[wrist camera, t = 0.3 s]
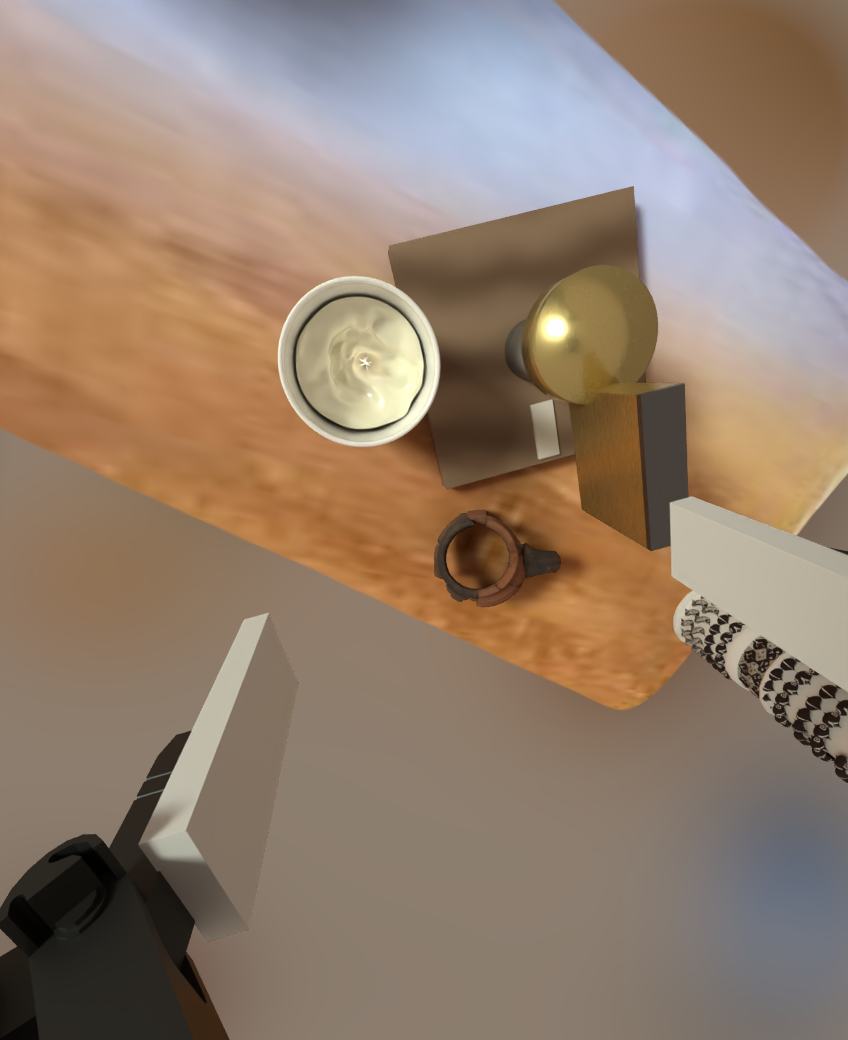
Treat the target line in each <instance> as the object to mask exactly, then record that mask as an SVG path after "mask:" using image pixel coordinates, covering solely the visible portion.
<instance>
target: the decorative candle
mask: <svg viewBox="0 0 848 1040" xmlns="http://www.w3.org/2000/svg"><path fill="white" fill-rule="evenodd" d="M673 630H674V632H675V633H676V635H677V637H678V638H679V640H681V641H682V642H684V643H685V644H686V645H690V646H692V648H691V650H692V651H695V653H701V654H702V655H701V658H702V659H707V662H708V663H710V664H712V666H713V667H714V668H715V669H716V670H718V671H719V672H720V673H722V674H723V675H724V676H725V678H727V679H730V680H731V679H732V680H734V681H735V682H736V683H737V684H738V685H740V686H741V687H743V688H744V689H746V690H748V691H750V692H751V693H752V694H754V695H755V696H756V697H757V698H759V700H760V702H761V704H762V705H763V707H764V709H765V710H766V711H767V712H768V713H770V714H772V715H774V716H775V720H776V721H777V722H778V723H780V724H782V725H783V726H785V727H793V729H794V736H795V738H796V739H797V740H799V741H800V742H801V743H802V744H803V745H810V746H811V747H812V753H813V754H814V755H815V756H816V757H818V758H820V759H822V760H823V761H826V762H828V761H834V765H835V767H836V769H835V773H836V775H837V776H838V777H840V778H841V779H842V780H843V781H845V782H847V783H848V772H847V771H846V769H845V768H844V767H843V766H846V767H847V768H848V692H846V691H845V690H843V689H842V688H840V687H839V686H837V685H836V684H834V683H833V682H831V681H830V680H828V679H827V678H825V677H824V676H822V675H821V674H819V673H817V672H816V671H814V670H813V669H811V668H810V667H808V666H807V665H805V664H804V663H802V662H801V661H799V660H798V659H796V658H795V657H793V656H792V655H790V654H789V653H787V652H786V651H784V650H783V649H781V648H780V647H778V646H777V645H775V644H773V643H772V642H770V641H769V640H767V639H766V638H764V637H763V636H761V635H760V634H758V633H757V632H755V631H754V630H752V629H751V628H749V627H748V626H746V625H745V624H743V623H742V622H740V621H739V620H737V619H736V618H734V617H732V616H731V615H729V614H728V613H726V612H725V611H723V610H722V609H720V608H719V607H717V606H716V605H714V604H713V603H711V602H710V601H708V600H707V599H705V598H704V597H702V596H701V595H699V594H698V593H696V592H695V591H693V590H692V591H691V592H690V593H688V594H687V595H686V596H685V597H684V598H683V599H682V601H681V602H680V603H679V605H678V606H677V608H676V611H675V614H674V617H673ZM805 734H806V735H807V736H808V737H809V738H807V737H806V736H805ZM823 749H824V750H826V751H827V752H828V753H827V752H825V751H823Z"/></svg>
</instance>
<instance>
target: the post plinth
mask: <svg viewBox="0 0 848 1040" xmlns="http://www.w3.org/2000/svg"><path fill="white" fill-rule="evenodd" d="M388 255H389V259H390V263H391V268H392V272H393V276H394V280H395V285H396V288H398V289H400V290H401V291H402V292H404V293H405V294H406V295H408V296H409V297H410V298H411V299H412V300H413V301H414V302H415V303H416V304H417V305H418V306H419V307H420V309H421V310H422V311H423V313H424V314H425V316H426V317H427V319H428V321H429V322H430V324H431V326H432V328H433V331H434V333H435V336H436V339H437V343H438V347H439V352H440V363H441V368H440V379H439V385H438V389H437V392H436V395H435V398H434V400H433V403H432V405H431V406H430V408H429V410H428V412H427V413H426V416H427V420H428V425H429V429H430V433H431V437H432V441H433V446H434V450H435V454H436V458H437V463H438V467H439V471H440V475H441V480H442V484H443V486H444V487H445V488H446V489H450V488H453V487H457V486H461V485H464V484H468V483H472V482H475V481H479V480H483V479H486V478H490V477H493V476H497V475H501V474H504V473H508V472H512V471H515V470H519V469H523V468H526V467H530V466H533V465H537V464H541V463H544V462H548V461H552V460H555V459H559V458H563V457H566V456H570V455H574V454H575V450H574V441H573V433H572V425H571V417H570V409H569V403H567V402H561V401H557V400H555V399H552V398H550V397H548V396H547V395H545V394H544V393H542V392H541V391H540V390H539V389H538V388H537V387H536V386H535V385H534V383H533V382H532V381H531V379H530V377H529V375H528V373H527V371H526V369H525V366H524V362H523V357H522V348H521V347H522V334H523V329H524V325H525V322H526V319H527V316H528V314H529V312H530V310H531V308H532V306H533V305H534V303H535V302H536V301H537V299H538V298H539V297H540V296H541V295H542V293H543V292H545V291H546V290H547V289H548V288H549V287H550V286H552V285H553V284H555V283H556V282H558V281H560V280H562V279H564V278H566V277H568V276H570V275H572V274H574V273H576V272H578V271H580V270H582V269H585V268H588V267H591V266H597V265H611V266H617V267H620V268H623V269H625V270H627V271H629V272H631V273H632V274H634V275H635V276H637V277H638V278H639V264H638V248H637V232H636V216H635V200H634V186H632V187H628V188H624V189H620V190H616V191H612V192H608V193H604V194H600V195H595V196H591V197H587V198H583V199H579V200H575V201H571V202H567V203H563V204H559V205H554V206H550V207H546V208H542V209H538V210H534V211H530V212H526V213H522V214H518V215H514V216H509V217H505V218H501V219H497V220H493V221H489V222H485V223H481V224H477V225H473V226H468V227H464V228H460V229H456V230H452V231H448V232H444V233H440V234H436V235H432V236H427V237H423V238H419V239H415V240H411V241H407V242H403V243H399V244H395V245H391V246H389V251H388ZM636 383H646V377H645V372H644V373H643V375H642V376H641V377H640V379H639V380H638V381H637V382H636Z"/></svg>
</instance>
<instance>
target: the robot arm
mask: <svg viewBox="0 0 848 1040" xmlns="http://www.w3.org/2000/svg"><path fill="white" fill-rule="evenodd" d="M670 531H671V567H672V577H673V578H675V579H676V580H678V581H679V582H681V583H682V584H684V585H685V586H687V587H688V588H690V589H692V590H693V591H695V592H696V593H698V594H699V595H701V596H702V597H704V598H705V599H707V600H708V601H710V602H711V603H713V604H714V605H716V606H717V607H719V608H720V609H722V610H723V611H725V612H726V613H728V614H729V615H731V616H732V617H734V618H736V619H737V620H739V621H740V622H742V623H743V624H745V625H746V626H748V627H749V628H751V629H752V630H754V631H755V632H757V633H758V634H760V635H761V636H763V637H764V638H766V639H767V640H769V641H770V642H772V643H773V644H775V645H777V646H778V647H780V648H781V649H783V650H784V651H786V652H787V653H789V654H790V655H792V656H793V657H795V658H796V659H798V660H799V661H801V662H802V663H804V664H805V665H807V666H808V667H810V668H811V669H813V670H814V671H816V672H817V673H819V674H821V675H822V676H824V677H825V678H827V679H828V680H830V681H831V682H833V683H834V684H836V685H837V686H839V687H840V688H842V689H843V690H845V691H846V692H848V551H843V550H838V549H833V548H828V547H825V546H822V545H819V544H816V543H813V542H811V541H809V540H806V539H804V538H801V537H798V536H796V535H793V534H790V533H788V532H785V531H782V530H780V529H777V528H774V527H772V526H769V525H766V524H764V523H761V522H758V521H756V520H753V519H750V518H748V517H745V516H743V515H740V514H737V513H735V512H732V511H729V510H727V509H724V508H721V507H719V506H716V505H713V504H711V503H708V502H705V501H703V500H700V499H697V498H695V497H688V498H684V499H681V500H677V501H673V502H670ZM297 688H298V681H297V678H296V676H295V673H294V671H293V669H292V666H291V664H290V662H289V659H288V657H287V655H286V652H285V650H284V648H283V645H282V643H281V640H280V638H279V636H278V633H277V631H276V628H275V626H274V624H273V622H272V619H271V617H270V614H269V613H266V614H263V615H259V616H256V617H252V618H248V619H245V620H244V621H243V623H242V625H241V628H240V630H239V632H238V634H237V636H236V638H235V641H234V642H233V644H232V647H231V649H230V651H229V653H228V655H227V657H226V660H225V662H224V664H223V666H222V668H221V670H220V672H219V674H218V676H217V678H216V681H215V683H214V685H213V687H212V689H211V691H210V694H209V696H208V698H207V700H206V702H205V704H204V706H203V708H202V710H201V713H200V715H199V717H198V719H197V721H196V723H195V725H194V727H193V729H192V731H188V732H185V733H182V734H178V735H176V736H175V737H174V738H173V740H171V742H170V743H169V744H168V745H167V746H166V747H165V748H164V750H163V751H162V752H161V753H160V754H159V755H158V757H157V759H156V760H155V763H154V764H153V766H152V768H151V770H150V772H149V774H148V776H147V781H146V782H144V783H143V785H142V787H141V789H140V791H139V793H138V795H137V800H135V801H134V802H133V804H132V806H131V808H130V810H129V811H128V813H127V815H126V817H125V819H124V821H123V823H122V825H121V827H120V829H119V830H118V832H117V834H116V836H115V838H114V840H113V842H112V844H111V846H110V847H109V848H108V847H107V846H106V844H105V843H104V841H103V840H102V839H101V838H99V837H98V836H97V835H96V834H90V835H89V834H88V835H85V834H83V835H81V836H79V837H76V838H73V839H71V840H68V841H66V842H64V843H63V844H61V845H59V846H58V847H57V848H55V849H53V850H52V851H50V852H48V853H47V854H46V855H45V856H44V857H43V858H41V859H40V860H39V861H38V862H37V863H36V864H34V865H33V866H32V867H31V868H30V869H29V870H28V871H27V872H26V873H25V874H24V875H23V876H22V878H21V879H20V880H19V881H18V882H17V884H16V885H15V886H14V887H13V888H12V889H11V891H10V892H9V894H8V896H7V898H6V899H5V901H4V903H3V904H2V906H1V908H0V929H1V930H2V931H3V932H4V933H5V934H6V935H7V936H8V937H9V938H10V939H11V940H12V941H13V942H14V943H15V944H16V945H17V947H16V948H14V949H12V950H11V951H9V952H7V953H6V954H4V955H2V956H1V957H0V1040H229V1038H228V1036H227V1033H226V1031H225V1029H224V1027H223V1025H222V1023H221V1020H220V1018H219V1016H218V1014H217V1012H216V1010H215V1007H214V1005H213V1003H212V1001H211V999H210V997H209V994H208V992H207V990H206V988H205V986H204V984H203V982H202V979H201V977H200V975H199V973H198V971H197V968H196V966H195V964H194V962H193V960H192V959H191V957H190V956H189V955H188V953H187V952H186V950H187V947H188V944H189V940H190V937H191V934H192V930H193V927H194V924H195V925H196V927H197V928H198V930H199V931H200V932H201V934H202V935H203V937H204V938H205V940H206V941H207V942H210V941H213V940H216V939H220V938H223V937H226V936H229V935H232V934H236V933H239V932H241V931H245V930H248V929H249V926H250V921H251V916H252V911H253V906H254V901H255V896H256V891H257V886H258V882H259V876H260V871H261V867H262V862H263V856H264V852H265V847H266V841H267V837H268V832H269V827H270V822H271V817H272V812H273V807H274V801H275V797H276V792H277V787H278V782H279V777H280V772H281V767H282V762H283V757H284V752H285V747H286V742H287V737H288V732H289V727H290V722H291V717H292V712H293V707H294V703H295V697H296V693H297Z"/></svg>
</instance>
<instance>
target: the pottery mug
mask: <svg viewBox="0 0 848 1040" xmlns="http://www.w3.org/2000/svg"><path fill="white" fill-rule="evenodd" d="M487 514H488V511H487V510H474V511H469V512H468V513H463V514H461V515H459V516H458V517H457V518H455V519H454V520H453V521H452V522H451V523H450V524H449V525H447V527H446V528H445V529H444V530H443V532H442V533H441V535H440V536H439V538H438V542H439V543H438V545H437V546H436V547H435V552H434V574H435V576H436V577H438V578H440V579H444V581H445V582H446V583H447V584H446V587H447V590H448V592H449V593H450V594H451V597H452V598H453V599H455V600H457V601H459V602H461V601H463V600H467V599H469V598H470V600H472V601H476V602H477V606H481V607H491V606H495V605H498V604H500V603H503V602H504V601H506V600H508V599H509V598H510V597H511V596H512V595H514V594H515V593H516V592H517V591H518V590H519V589H520V587H521V585H522V583H523V581H524V580H525V579H526V578H529V577H532V576H536V575H541V574H545V573H549V572H554V573H555V572H557V571H558V569H559V568H560V565H561V560H560V556H559V555H558V554H557V552H555V551H541V550H534V549H532V548H530V546H529V545H528V544H527V543H525V544H521V543H520V541H519V540H518V538H517V537H516V536H515V535H514V533H513V532H512V531H511V530H510V529H509V528H508V527H507V526H506V525H504V524H503V523H502V522H501V521H499V520H498V519H496V518H494V517H491V516H487ZM474 524H484V525H486V527H487V528H489V529H491V530H493V531H495V532H497V533H498V534H499V535H500V536H501V537H502V538H503V540H504V541H505V543H506V545H507V548H508V552H509V562H508V566H507V569H506V571H505V573H504V575H503V576H502V577H501V578H500V580H499V581H497V582H496V583H495V584H493V585H491V586H489V587H486V588H480V589H471V588H467V587H465V586H463V585H461V584H459V583H458V582H457V581H456V580H454V578H453V577H452V576H451V575H450V573H449V571H448V568H447V563H446V554H447V549H448V547H449V544H450V543H451V541H452V540H453V538H454V537H455V536H456V535H457V534H458V533H459V532H461V531H463V530H465V529H467V528H470V527H473V526H474Z"/></svg>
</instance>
